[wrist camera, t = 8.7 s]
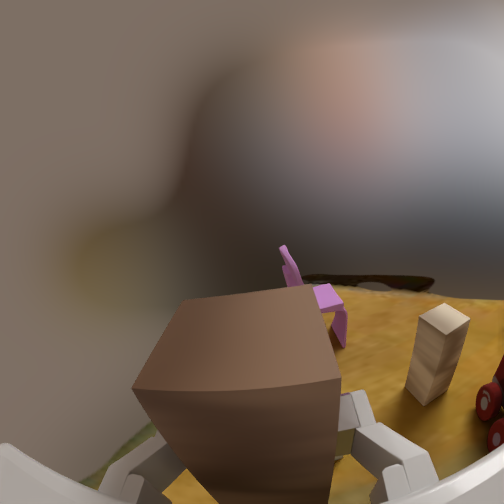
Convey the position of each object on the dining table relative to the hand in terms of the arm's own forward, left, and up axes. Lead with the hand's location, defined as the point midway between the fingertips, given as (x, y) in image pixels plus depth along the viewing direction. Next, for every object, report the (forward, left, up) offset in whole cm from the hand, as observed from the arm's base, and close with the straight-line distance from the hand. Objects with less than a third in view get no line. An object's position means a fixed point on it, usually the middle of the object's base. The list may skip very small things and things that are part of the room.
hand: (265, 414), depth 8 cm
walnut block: (0, +1, -5) cm, 6 cm away
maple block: (-16, -12, -17) cm, 26 cm away
